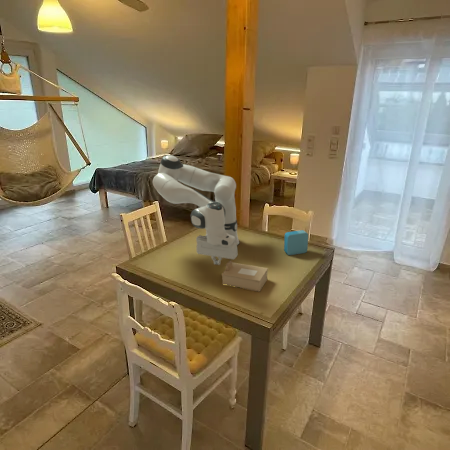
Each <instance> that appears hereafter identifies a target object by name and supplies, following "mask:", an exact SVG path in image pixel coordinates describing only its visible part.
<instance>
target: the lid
mask: <svg viewBox="0 0 450 450" xmlns="http://www.w3.org/2000/svg"><path fill="white" fill-rule="evenodd" d="M268 270H269V268H268V267H262V266H257V265H252V264H243V263H237V262H233V260H232V259H229V261H228V262H227V263H225V270H224V271H223V272H222V273H221V276H222V275H224V276H230V277H235V278H241V279H247V280H252V281H258V282H260V281H261V279H262V278H263V276H264V275H265V273H266V271H267V272H268Z"/></svg>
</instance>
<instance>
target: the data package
mask: <svg viewBox="0 0 450 450" xmlns="http://www.w3.org/2000/svg"><path fill="white" fill-rule="evenodd" d="M283 238H284V239H283V240H284V244H283V245H284V246H283V247H284V248H283V251H284V253H286V254H287V255H288V256H295V255H300V254H305V253H307V252H308V246H309V245H308V244H309V233H307V231H305V230H303V229H302V230H300V229H299V230H294V231H287V232H285V233H284V237H283Z"/></svg>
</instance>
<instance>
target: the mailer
mask: <svg viewBox="0 0 450 450" xmlns="http://www.w3.org/2000/svg"><path fill="white" fill-rule="evenodd" d="M221 277H222V279H221V280H222V285H223V284H227V285H231V286H235V287H234V288H237V287H240V288H239V289H242V288H244V289H243V290H247V289H248V291H254V292H258V293H260V292H261V290H262V289H263V287H264V285H265V284H266V282H267V281H268V270H267V271H266V273H265V275H264V276H263V278H262V279H261V281H260V282H258V281H252V280H247V279H241V278H235V277H230V276H224V275H222V274H221ZM231 286H230V287H231Z"/></svg>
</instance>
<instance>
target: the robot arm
mask: <svg viewBox="0 0 450 450" xmlns="http://www.w3.org/2000/svg"><path fill="white" fill-rule="evenodd" d="M158 167H159V168H158V170H157V174H156V175H154V177H153V179H152V185H153V187H154V189H155V191H157V193H158V194H159V195H160V196H161V197H162V198H163V199H164V200H165V201H167V202H169V203H170V204H174V205H175V204H177V205H178V204H194V205H196V206H198V208H195V209H193V210H192V211H191V213H190V222H191V224H192V225H193V227H195V228H196V229H204V230H206V231H205V235H201V234H200V235H198V236H197V237H195V238H196V240H195V241H196V253H197V254H198V255H203V256H209V257H211V258H210V259H211V260H212V261H213V265H217V266H220V265H221V261H222V260H223V259H229V260H236V258H237V257H238V256H239V255H238V245H239V244H240V240H239V234H238V220H237V206H236V198H235V194H236V193H235V192H236V190H237V183H236V181H235V180H236V179H234V178H233V177H231V176H230V175H223V174H220V173H215V172H211V171H207V170H204V169H201V168H199V167H195V166H193V165H189V164H184V163H183V162H181V160H180V158H178V157H177V156H175V155H172V154H166V155H163V157H162V158H161V160H160V164H159V166H158ZM182 183H183V184H182ZM191 187H192V188H191ZM193 188H195V189H193ZM196 189H197V190H196ZM198 190H199V191H198ZM200 191H203V192H212V193H214V194H213V195H214V200H213V199H211V198H209V197H207V196H205V195H204V194H202V193H201V192H200ZM216 257H217V258H216Z"/></svg>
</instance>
